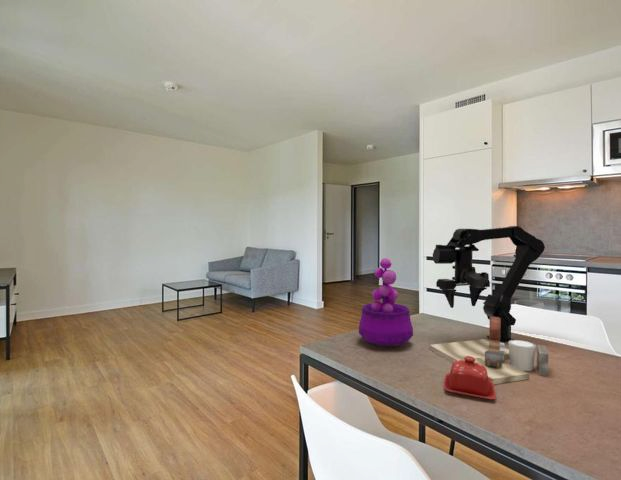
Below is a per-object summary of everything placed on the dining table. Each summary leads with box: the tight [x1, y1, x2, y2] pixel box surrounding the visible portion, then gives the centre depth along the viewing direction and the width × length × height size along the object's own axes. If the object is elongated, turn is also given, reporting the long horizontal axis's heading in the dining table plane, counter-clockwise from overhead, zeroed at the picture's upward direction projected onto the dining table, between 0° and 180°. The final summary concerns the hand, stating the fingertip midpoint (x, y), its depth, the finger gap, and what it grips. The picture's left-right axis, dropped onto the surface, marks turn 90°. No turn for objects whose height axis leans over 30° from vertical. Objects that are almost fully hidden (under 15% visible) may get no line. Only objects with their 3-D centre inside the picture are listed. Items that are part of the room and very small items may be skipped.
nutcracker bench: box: [428, 338, 549, 385], centre depth 105 cm, size 24×27×6 cm
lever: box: [485, 317, 505, 367], centre depth 105 cm, size 22×5×9 cm, turn 151°
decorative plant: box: [358, 257, 414, 347], centre depth 121 cm, size 19×18×30 cm
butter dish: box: [443, 356, 497, 401], centre depth 87 cm, size 12×12×8 cm
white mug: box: [508, 339, 537, 372], centre depth 101 cm, size 7×7×7 cm
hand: (462, 306), depth 124 cm, fingers open, 9 cm apart
